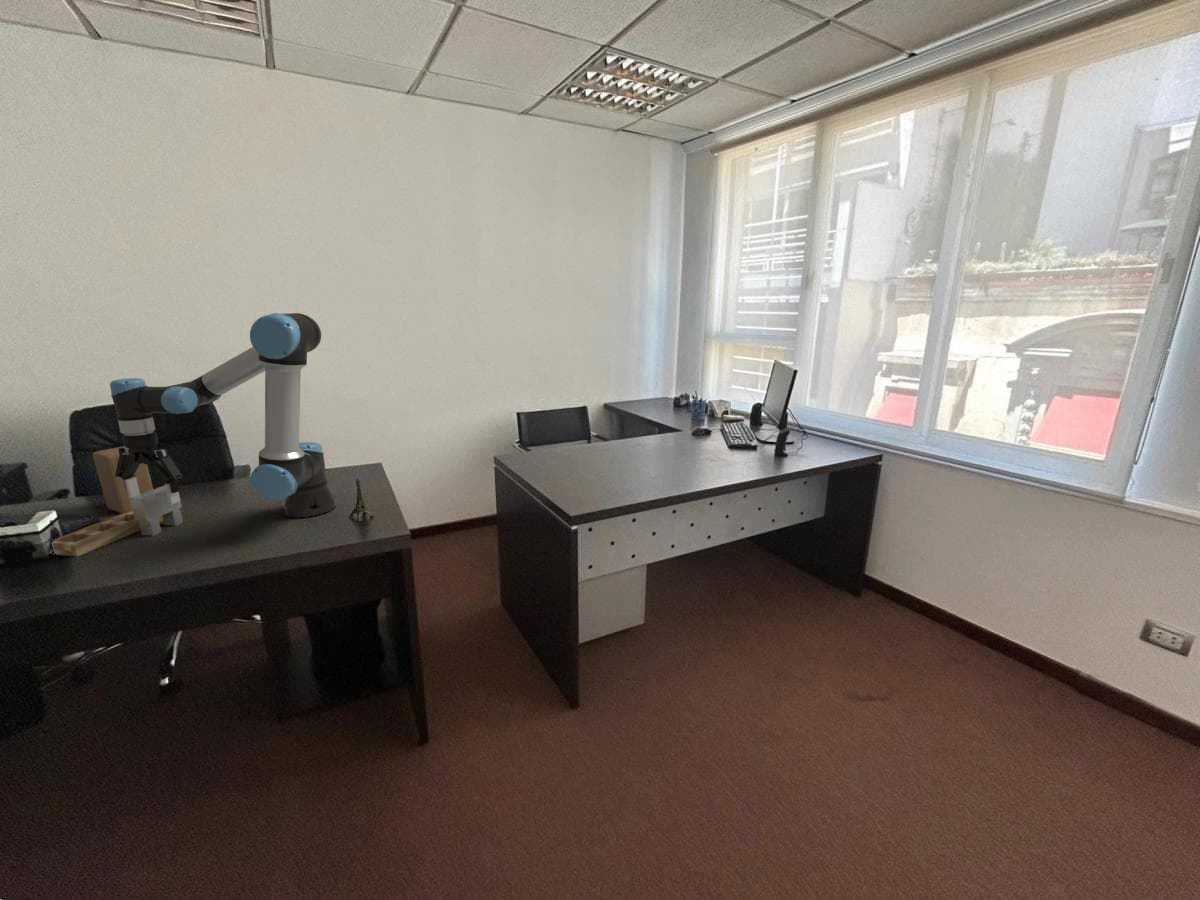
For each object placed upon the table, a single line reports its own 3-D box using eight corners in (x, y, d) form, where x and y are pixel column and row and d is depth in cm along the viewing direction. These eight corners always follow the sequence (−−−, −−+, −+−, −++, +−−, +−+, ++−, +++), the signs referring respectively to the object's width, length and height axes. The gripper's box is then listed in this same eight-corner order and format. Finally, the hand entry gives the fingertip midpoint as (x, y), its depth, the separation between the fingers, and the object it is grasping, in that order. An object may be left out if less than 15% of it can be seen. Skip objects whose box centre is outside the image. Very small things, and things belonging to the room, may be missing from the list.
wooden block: (158, 504, 172) (144, 448, 166) (122, 514, 163) (106, 456, 157) (142, 499, 176) (128, 444, 170) (106, 509, 167) (90, 452, 161)
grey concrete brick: (185, 521, 159) (177, 485, 155) (151, 536, 148) (141, 498, 145) (174, 520, 159) (165, 485, 156) (139, 535, 149) (129, 498, 145)
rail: (175, 515, 163) (172, 505, 162) (77, 556, 136) (74, 544, 135) (150, 513, 164) (148, 503, 163) (49, 554, 137) (46, 542, 136)
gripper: (189, 432, 147) (203, 499, 153) (115, 427, 150) (131, 493, 156) (164, 438, 140) (180, 508, 146) (87, 433, 143) (105, 502, 149)
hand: (155, 500), depth 151 cm, fingers open, 13 cm apart
